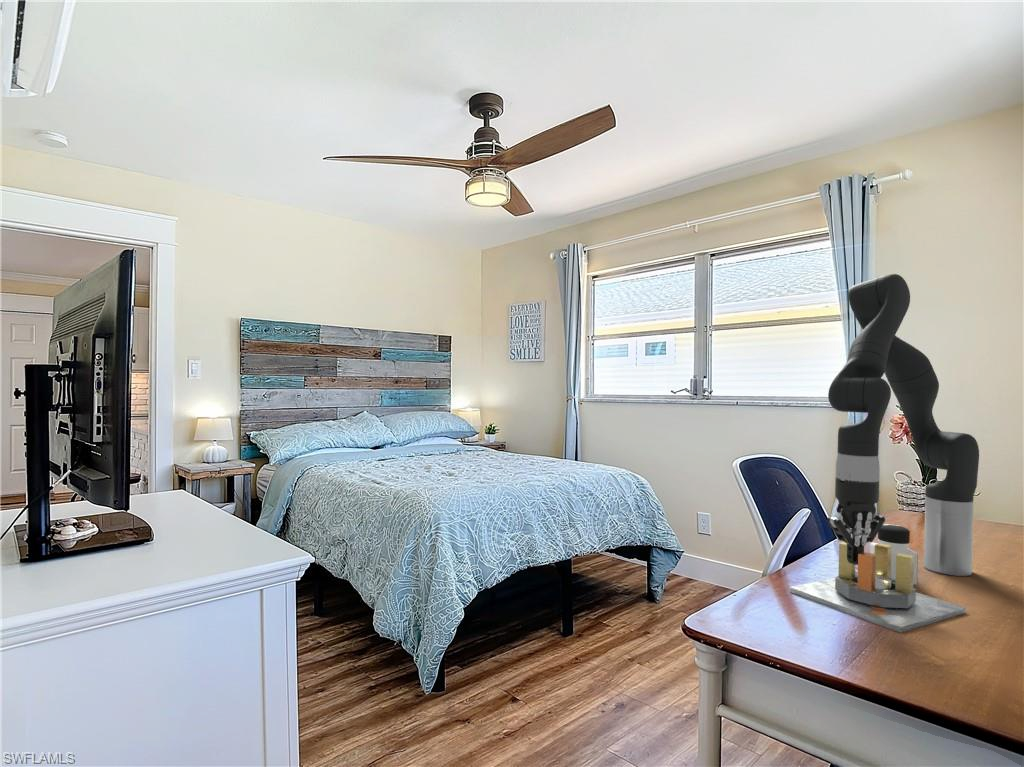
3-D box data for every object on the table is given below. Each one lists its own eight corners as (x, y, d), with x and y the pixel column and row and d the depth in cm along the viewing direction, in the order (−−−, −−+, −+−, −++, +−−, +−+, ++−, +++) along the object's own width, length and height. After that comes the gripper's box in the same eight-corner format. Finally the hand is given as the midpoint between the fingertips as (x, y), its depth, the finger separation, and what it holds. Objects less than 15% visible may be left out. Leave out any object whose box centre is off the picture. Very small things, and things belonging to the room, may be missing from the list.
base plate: (853, 577, 131) (854, 555, 131) (965, 612, 112) (966, 586, 112) (789, 591, 121) (790, 568, 121) (900, 632, 101) (901, 604, 101)
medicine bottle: (917, 585, 127) (918, 531, 127) (882, 582, 128) (883, 528, 128) (902, 575, 134) (903, 523, 134) (869, 572, 135) (870, 521, 135)
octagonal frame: (826, 583, 123) (827, 539, 123) (888, 585, 122) (888, 542, 122) (859, 606, 110) (860, 557, 110) (928, 609, 110) (929, 560, 110)
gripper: (866, 473, 120) (864, 555, 121) (815, 474, 117) (813, 560, 117) (899, 479, 113) (897, 567, 113) (847, 481, 109) (845, 572, 109)
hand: (855, 563), depth 115 cm, fingers closed
